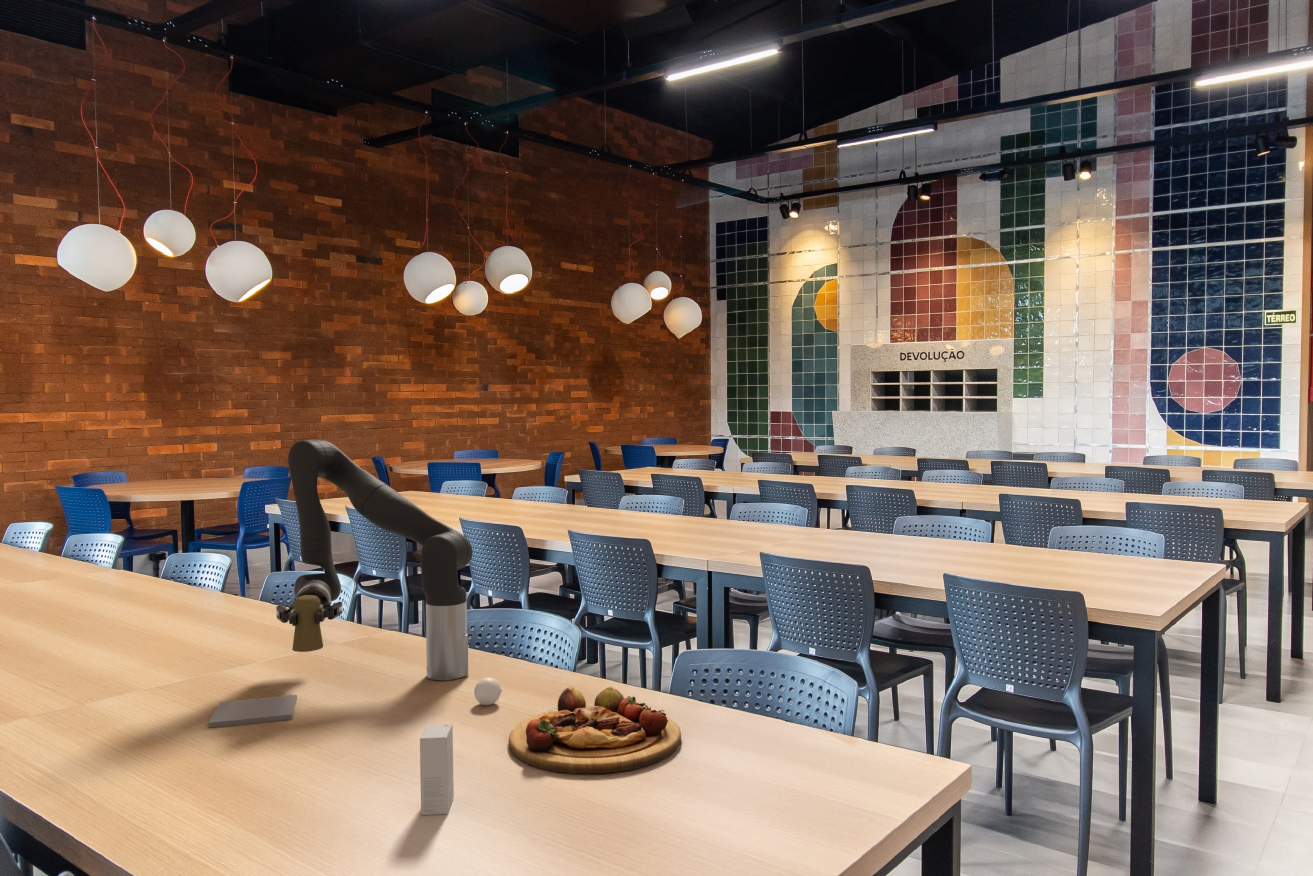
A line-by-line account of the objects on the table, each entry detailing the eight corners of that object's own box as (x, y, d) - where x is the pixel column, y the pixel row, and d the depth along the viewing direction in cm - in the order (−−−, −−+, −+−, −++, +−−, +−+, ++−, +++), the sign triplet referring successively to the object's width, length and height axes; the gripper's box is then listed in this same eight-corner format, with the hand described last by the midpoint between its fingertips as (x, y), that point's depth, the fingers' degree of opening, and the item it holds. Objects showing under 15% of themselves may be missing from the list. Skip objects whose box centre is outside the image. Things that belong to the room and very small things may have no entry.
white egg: (495, 710, 182) (495, 683, 181) (469, 708, 183) (469, 681, 183) (509, 698, 189) (508, 672, 189) (484, 696, 190) (484, 670, 190)
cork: (312, 652, 181) (311, 599, 181) (286, 651, 182) (285, 598, 182) (329, 644, 187) (328, 593, 187) (303, 643, 188) (302, 592, 188)
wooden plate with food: (544, 793, 143) (543, 742, 142) (487, 730, 171) (486, 688, 171) (713, 756, 157) (713, 711, 157) (634, 704, 186) (634, 666, 185)
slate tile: (297, 699, 189) (297, 694, 189) (291, 719, 176) (291, 714, 176) (219, 706, 184) (219, 702, 184) (208, 727, 172) (208, 722, 172)
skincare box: (426, 798, 140) (426, 724, 139) (454, 797, 140) (453, 723, 140) (419, 816, 134) (419, 738, 133) (448, 815, 134) (447, 737, 134)
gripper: (277, 588, 196) (268, 604, 179) (345, 584, 200) (342, 600, 184) (278, 621, 196) (269, 641, 180) (346, 616, 200) (342, 635, 184)
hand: (306, 620), depth 182 cm, fingers closed on cork, 4 cm apart
